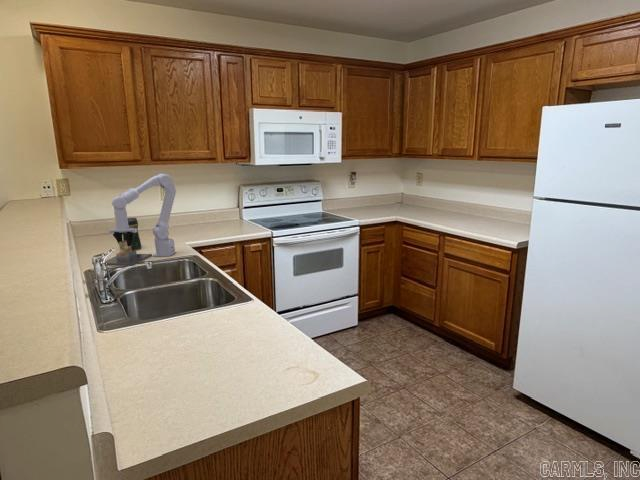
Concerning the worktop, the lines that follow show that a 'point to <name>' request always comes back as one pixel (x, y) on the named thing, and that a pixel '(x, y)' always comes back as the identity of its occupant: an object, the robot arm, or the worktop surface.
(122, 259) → the jack base
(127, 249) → the column
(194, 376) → the worktop surface
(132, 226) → the coffee jar
